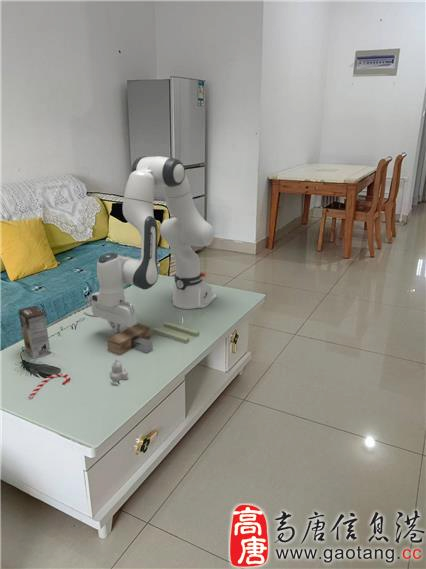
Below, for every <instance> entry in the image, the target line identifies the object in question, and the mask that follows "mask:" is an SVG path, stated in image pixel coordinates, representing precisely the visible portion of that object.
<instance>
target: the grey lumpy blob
mask: <svg viewBox="0 0 426 569" xmlns="http://www.w3.org/2000/svg"><path fill="white" fill-rule="evenodd" d="M110 368H111V371H110V372H109V378H110V380H111V381H112V382H114V383H119V382H120V381H121V380H127V379H129V378H128V374H129V372H128V371H126V369H125V368H123V363H122V362H121V361H120V360H119V359H117V358H114V362H113V363H112V365H111V367H110Z"/></svg>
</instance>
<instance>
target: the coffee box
mask: <svg viewBox="0 0 426 569" xmlns="http://www.w3.org/2000/svg"><path fill="white" fill-rule="evenodd" d="M18 315H19V319H20V324H21V325H20V326H21V331H22V336H23V337H22V338H23V342H24V348H25V351H27V353H29V355H30V356H31V358H33V359H37V358H40V357H43V356H46V355H49V354H51V350H50V349H51V347H50V341H49V333H48V326H47V319H46V313H45V312H44V311H43V310H42V309H40V307H38V306H37V305H33V306H28V307H22V308H20V309H18Z"/></svg>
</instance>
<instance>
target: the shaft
mask: <svg viewBox="0 0 426 569" xmlns="http://www.w3.org/2000/svg"><path fill="white" fill-rule="evenodd" d="M122 331H123V330H120V331H119V332H117V333H116V332H114V335H116V334H118V333H120V332H122ZM131 342H132V349H134V350H137V351H139V352H141V353H143V354H144V353H145V354H149V352H151V351H153V349H154V348H153V341H151V340H150V339H148V340H146V339H143V338H140V337H138V336H136V337H134V338H133V339H131Z"/></svg>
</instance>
